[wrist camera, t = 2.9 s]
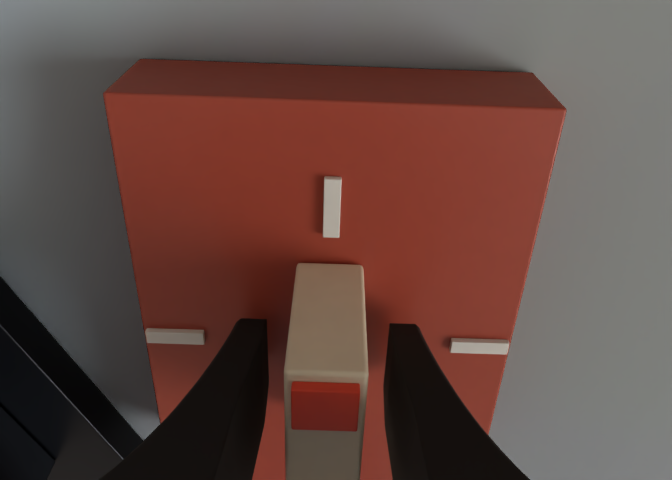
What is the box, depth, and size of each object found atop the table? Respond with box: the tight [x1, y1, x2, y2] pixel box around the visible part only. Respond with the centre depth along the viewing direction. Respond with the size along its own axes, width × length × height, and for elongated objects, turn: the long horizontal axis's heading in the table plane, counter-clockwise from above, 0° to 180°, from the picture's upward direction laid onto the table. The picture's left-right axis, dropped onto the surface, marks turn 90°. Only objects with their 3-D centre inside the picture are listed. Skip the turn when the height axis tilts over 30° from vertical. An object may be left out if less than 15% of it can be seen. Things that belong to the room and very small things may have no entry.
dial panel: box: [103, 59, 566, 480], centre depth 16 cm, size 12×9×3 cm
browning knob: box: [284, 263, 369, 480], centre depth 13 cm, size 5×2×4 cm, turn 178°
